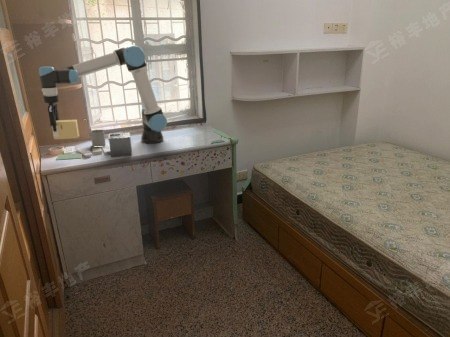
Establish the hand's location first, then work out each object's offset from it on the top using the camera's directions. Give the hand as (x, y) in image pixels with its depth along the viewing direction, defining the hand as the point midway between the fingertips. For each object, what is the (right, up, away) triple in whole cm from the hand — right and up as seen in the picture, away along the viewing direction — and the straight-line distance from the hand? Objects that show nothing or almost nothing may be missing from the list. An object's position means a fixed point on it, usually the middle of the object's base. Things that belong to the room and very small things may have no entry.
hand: (57, 135), depth 207 cm
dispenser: (+34, -10, +13) cm, 38 cm away
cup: (+15, -5, +28) cm, 32 cm away
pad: (+5, -12, +6) cm, 15 cm away
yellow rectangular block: (+5, -1, +2) cm, 5 cm away
